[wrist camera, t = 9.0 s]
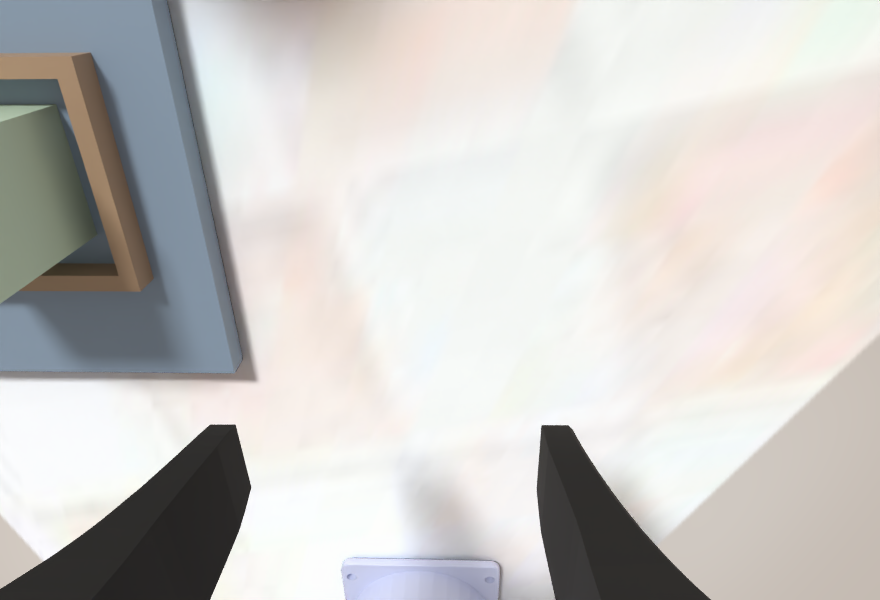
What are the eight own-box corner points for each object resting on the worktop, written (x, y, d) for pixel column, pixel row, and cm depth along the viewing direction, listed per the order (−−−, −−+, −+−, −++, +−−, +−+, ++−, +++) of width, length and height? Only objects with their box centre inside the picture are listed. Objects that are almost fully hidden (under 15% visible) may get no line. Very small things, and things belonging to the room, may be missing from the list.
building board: (242, 359, 24) (225, 388, 22) (-41, 356, 24) (-79, 385, 23) (142, -116, 16) (103, -127, 14) (-271, -108, 17) (-356, -118, 15)
